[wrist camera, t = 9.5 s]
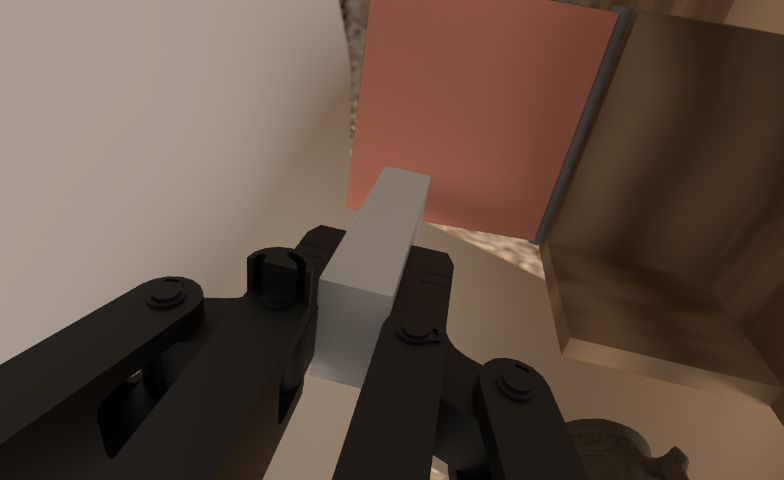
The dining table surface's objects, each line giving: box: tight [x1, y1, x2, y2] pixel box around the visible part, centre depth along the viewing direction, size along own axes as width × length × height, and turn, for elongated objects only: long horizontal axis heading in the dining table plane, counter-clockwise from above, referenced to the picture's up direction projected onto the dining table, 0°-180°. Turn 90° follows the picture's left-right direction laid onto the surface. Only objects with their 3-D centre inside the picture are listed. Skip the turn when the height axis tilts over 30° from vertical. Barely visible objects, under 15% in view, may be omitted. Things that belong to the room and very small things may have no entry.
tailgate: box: [346, 0, 634, 245], centre depth 26 cm, size 2×14×13 cm
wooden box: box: [539, 0, 784, 426], centre depth 24 cm, size 11×16×21 cm
